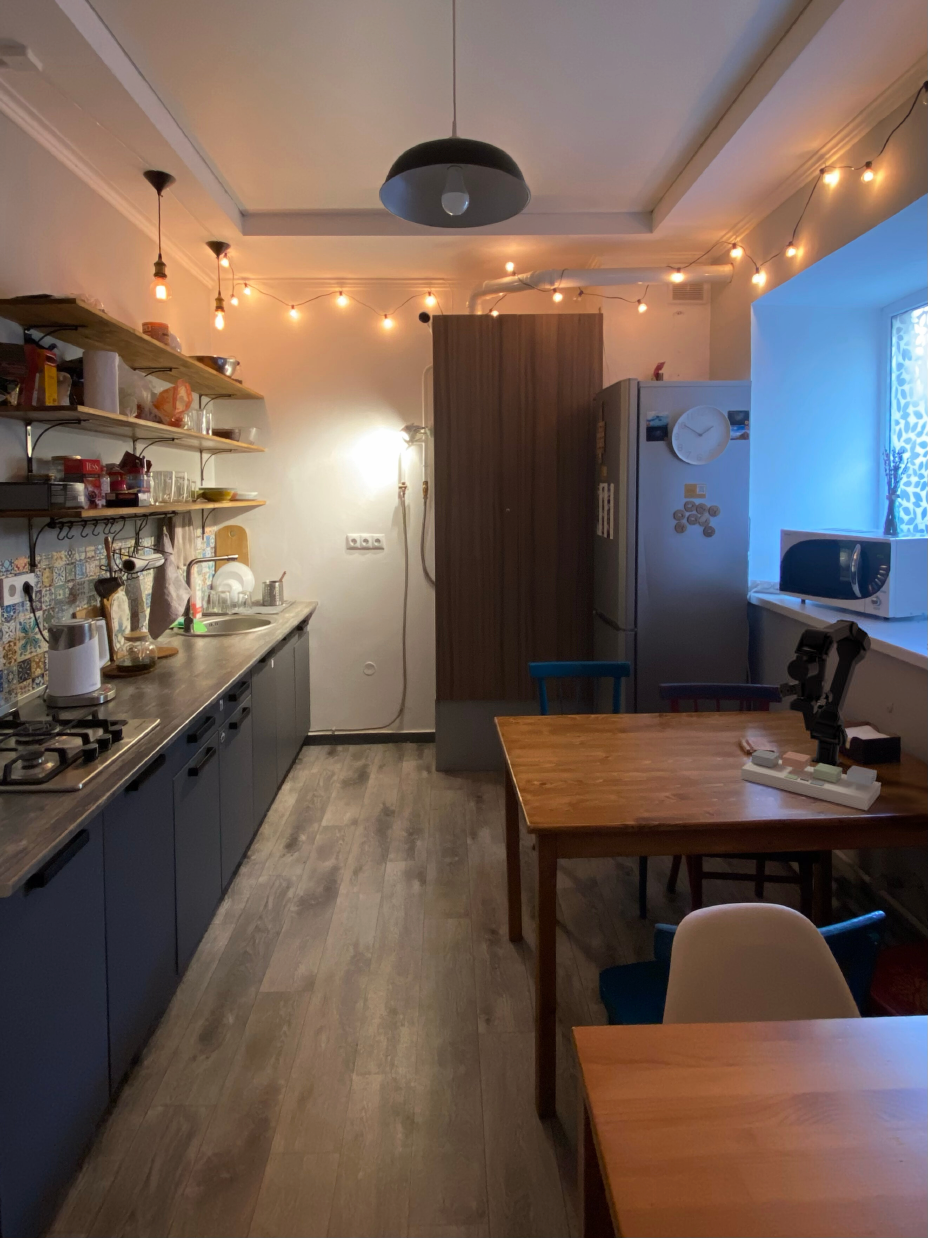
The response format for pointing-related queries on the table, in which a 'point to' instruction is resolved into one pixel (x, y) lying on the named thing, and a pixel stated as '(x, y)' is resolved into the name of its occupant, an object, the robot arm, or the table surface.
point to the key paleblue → (861, 775)
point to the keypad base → (812, 784)
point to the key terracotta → (796, 760)
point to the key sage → (827, 772)
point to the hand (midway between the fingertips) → (808, 730)
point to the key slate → (765, 758)
